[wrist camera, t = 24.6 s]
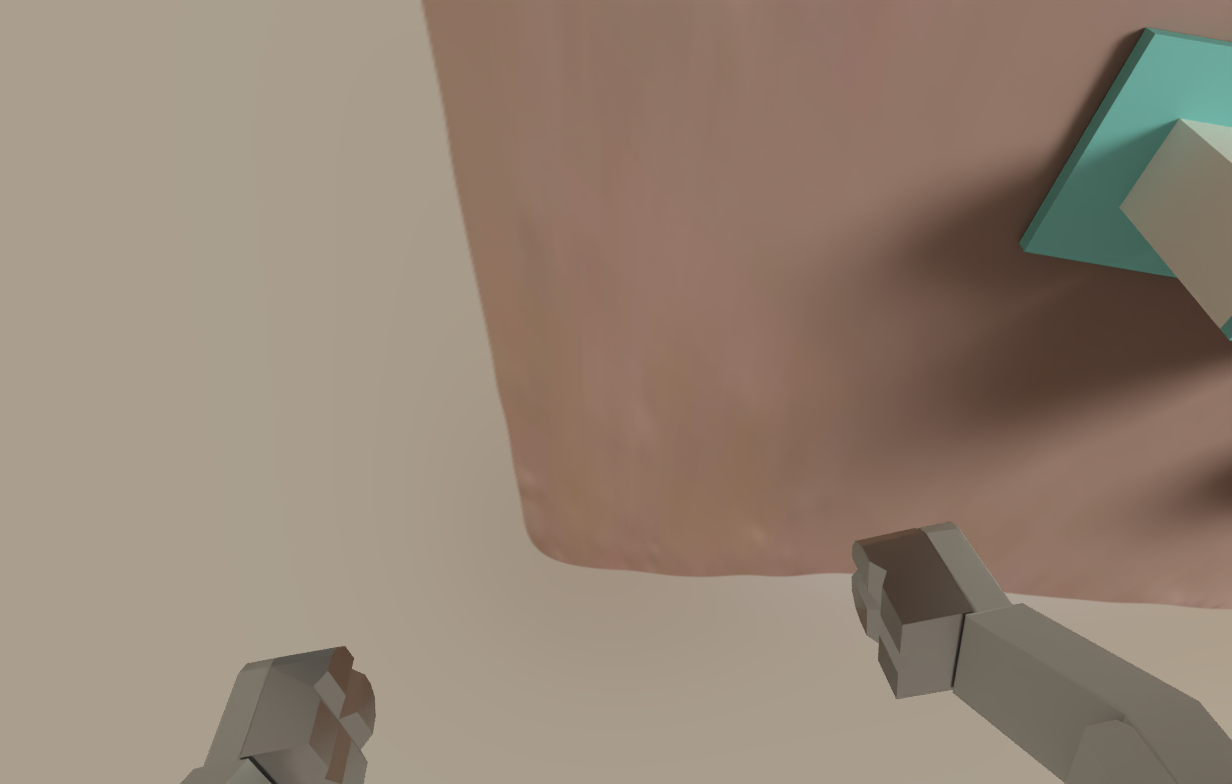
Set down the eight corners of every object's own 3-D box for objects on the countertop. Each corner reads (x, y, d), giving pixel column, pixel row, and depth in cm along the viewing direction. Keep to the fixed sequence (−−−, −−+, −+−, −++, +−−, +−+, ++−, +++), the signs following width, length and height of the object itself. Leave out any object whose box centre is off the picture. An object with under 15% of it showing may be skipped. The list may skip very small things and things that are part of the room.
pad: (1146, 27, 34) (1155, 33, 34) (1391, 69, 34) (1405, 77, 34) (1018, 242, 43) (1024, 251, 42) (1217, 276, 43) (1225, 286, 42)
